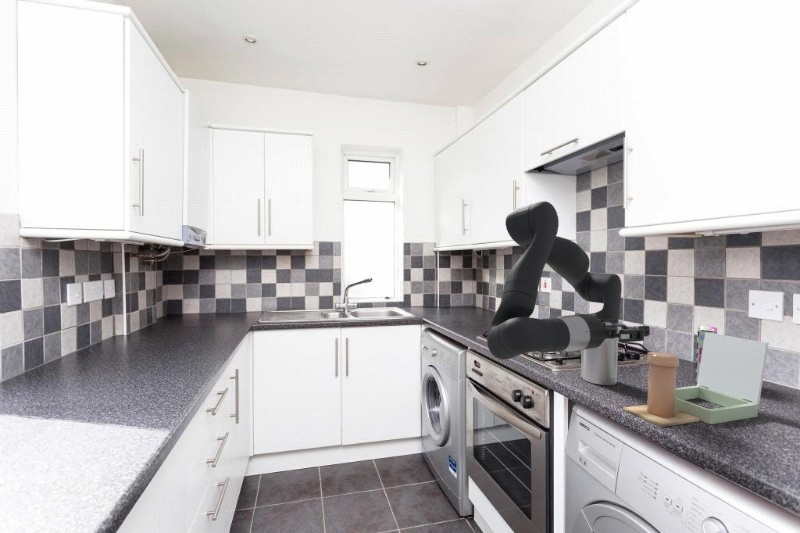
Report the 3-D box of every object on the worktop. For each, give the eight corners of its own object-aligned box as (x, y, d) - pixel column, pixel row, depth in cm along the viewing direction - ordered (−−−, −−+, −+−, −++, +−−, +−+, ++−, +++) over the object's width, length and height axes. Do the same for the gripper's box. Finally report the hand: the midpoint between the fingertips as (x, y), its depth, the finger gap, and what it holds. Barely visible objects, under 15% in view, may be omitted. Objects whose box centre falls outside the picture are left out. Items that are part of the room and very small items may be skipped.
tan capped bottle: (638, 408, 95) (641, 352, 94) (657, 406, 97) (660, 351, 96) (662, 419, 89) (665, 359, 88) (682, 416, 91) (685, 357, 90)
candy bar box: (715, 386, 115) (717, 331, 115) (694, 382, 118) (696, 329, 118) (715, 377, 124) (717, 326, 123) (696, 374, 127) (697, 324, 127)
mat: (623, 409, 96) (623, 407, 96) (659, 405, 99) (659, 402, 99) (661, 427, 86) (661, 424, 86) (699, 420, 90) (699, 418, 90)
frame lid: (696, 386, 106) (698, 332, 106) (705, 385, 107) (707, 331, 107) (756, 405, 93) (759, 343, 92) (766, 403, 94) (768, 342, 93)
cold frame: (653, 402, 101) (654, 390, 101) (697, 396, 106) (697, 385, 106) (710, 424, 88) (710, 411, 88) (757, 416, 93) (757, 404, 93)
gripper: (602, 320, 76) (661, 315, 81) (551, 310, 89) (604, 306, 95) (602, 358, 76) (660, 350, 82) (551, 342, 90) (604, 336, 95)
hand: (630, 327), depth 88 cm, fingers open, 8 cm apart
